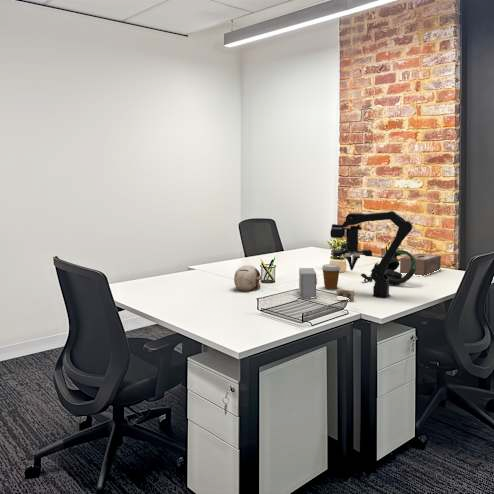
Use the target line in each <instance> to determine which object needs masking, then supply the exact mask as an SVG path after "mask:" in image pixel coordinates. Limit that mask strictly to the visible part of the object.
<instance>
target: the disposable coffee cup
mask: <svg viewBox="0 0 494 494" xmlns="http://www.w3.org/2000/svg"><path fill="white" fill-rule="evenodd" d="M321 270H322V275H323V284H324V289H325V290H332V291H333V290H337V289H338V282H339V275H340V270H341V266H340V265H339V264H333V263H331V264H330V263H329V264H323V265H322V267H321Z"/></svg>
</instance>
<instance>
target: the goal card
mask: <svg viewBox="0 0 494 494" xmlns="http://www.w3.org/2000/svg"><path fill="white" fill-rule="evenodd" d="M335 290H336V291H335V292H336V293H335V294H336V295H335V297H336V296H343V297H347V298H350V300H349V301H348V302H350V303H351V302H352V303H353V302H354V301H355V300H354V297H355V291H354V290H348V289H340V288H339V289H338V288H337V289H335Z"/></svg>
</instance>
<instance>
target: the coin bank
mask: <svg viewBox="0 0 494 494" xmlns="http://www.w3.org/2000/svg"><path fill="white" fill-rule="evenodd" d="M233 278H234V279H233V280H234V281H233V282H234V286H235V287H236V288H237V290H239V291H241V292H251V291H252V290H260V289H261V287H262V285H261V284H260V280H262V279H263V278H262V275H261V272H260V271H259V270H258V269H257V267H256V266H254V265H249V264H248V265H243V266H241V267H238V269H237V270H236V271H235V272H234V276H233Z"/></svg>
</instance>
